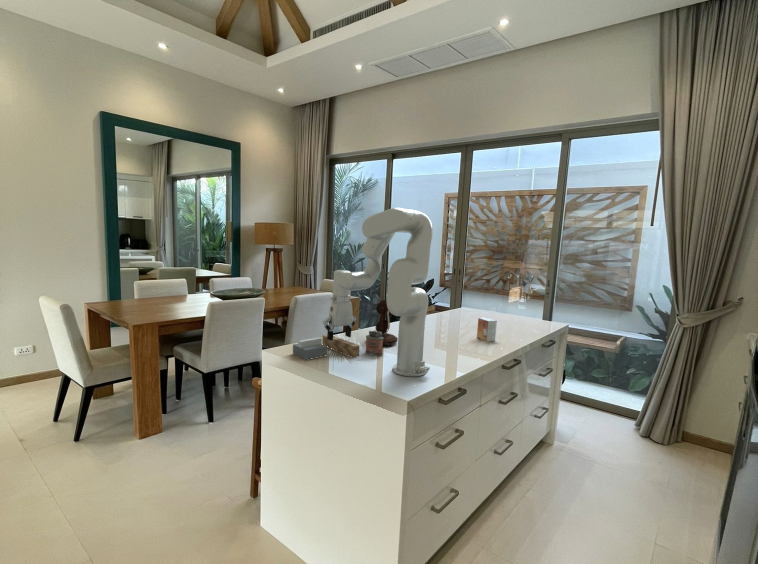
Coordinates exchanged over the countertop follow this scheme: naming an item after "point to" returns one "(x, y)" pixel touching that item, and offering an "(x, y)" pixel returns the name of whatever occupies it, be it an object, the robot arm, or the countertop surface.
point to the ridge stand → (310, 348)
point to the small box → (486, 329)
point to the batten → (341, 346)
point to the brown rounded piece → (384, 324)
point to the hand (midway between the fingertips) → (339, 338)
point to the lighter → (374, 343)
